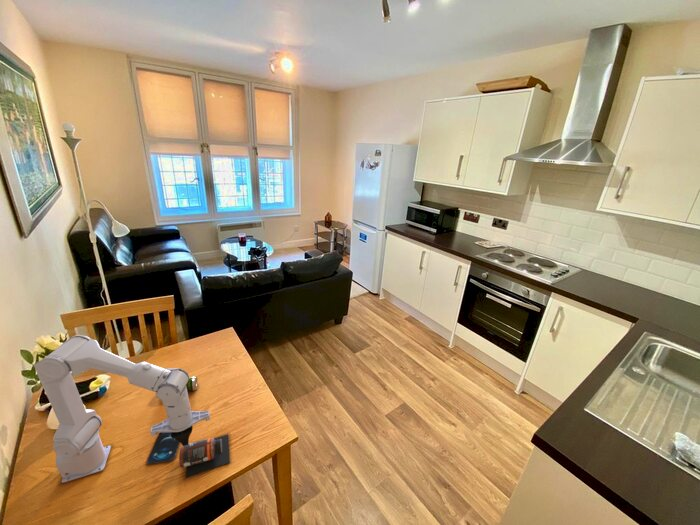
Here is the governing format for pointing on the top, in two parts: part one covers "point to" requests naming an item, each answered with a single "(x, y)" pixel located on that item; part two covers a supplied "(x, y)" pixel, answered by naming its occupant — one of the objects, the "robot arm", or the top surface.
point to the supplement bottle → (199, 452)
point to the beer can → (191, 384)
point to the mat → (211, 464)
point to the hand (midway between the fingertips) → (185, 442)
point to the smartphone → (163, 448)
